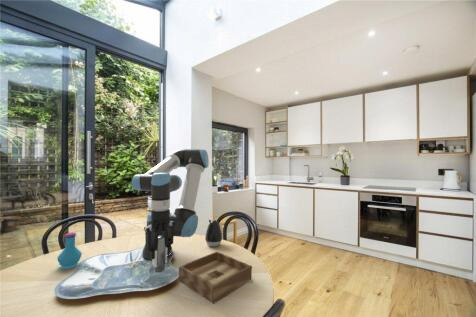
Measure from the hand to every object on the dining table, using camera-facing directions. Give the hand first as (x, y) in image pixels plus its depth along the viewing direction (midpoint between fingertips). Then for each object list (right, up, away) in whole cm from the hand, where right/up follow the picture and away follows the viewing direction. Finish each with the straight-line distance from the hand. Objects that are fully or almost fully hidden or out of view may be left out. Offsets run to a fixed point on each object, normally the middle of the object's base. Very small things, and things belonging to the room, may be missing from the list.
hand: (159, 263), depth 93 cm
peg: (0, -3, 0) cm, 3 cm away
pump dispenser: (+18, -8, +40) cm, 45 cm away
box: (+24, -7, +1) cm, 25 cm away
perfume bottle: (-47, -6, +11) cm, 49 cm away
